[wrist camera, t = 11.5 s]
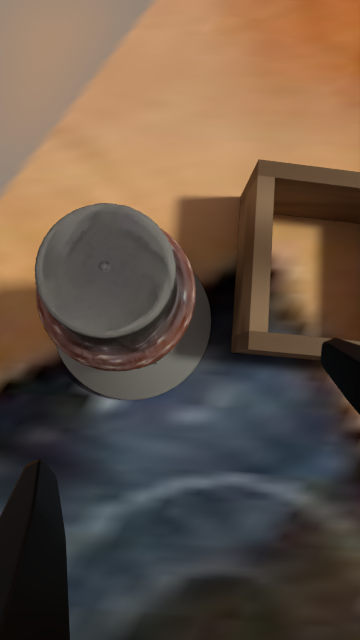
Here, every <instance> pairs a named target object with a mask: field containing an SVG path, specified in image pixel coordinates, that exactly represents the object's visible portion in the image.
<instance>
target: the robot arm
mask: <svg viewBox="0 0 360 640" xmlns="http://www.w3.org/2000/svg"><path fill="white" fill-rule="evenodd" d="M320 361H321V364H322V366H323V368H324V369H325V371H326V372H327V373H328V375H329V376H330V377H331V379H332V380H333V381H334V383H335V384H336V385H337V387H338V388H339V389H340V391H341V392H342V393H343V395H344V396H345V397H346V399H347V400H348V401H349V403H350V404H351V405H352V406H353V407H354V409H355V410H356V411H357V412H358V413H359V414H360V345H358V344H354V343H351V342H348V341H345V340H342V339H339V338H332V339H329V340H327V341H324V342H323V344H322V349H321V358H320ZM0 640H70V631H69V607H68V582H67V557H66V538H65V530H64V523H63V516H62V510H61V504H60V497H59V491H58V484H57V479H56V476H55V474H54V472H53V471H52V470H51V469H50V468H49V466H48V465H47V464H46V463H45V462H44V461H43V460H41V459H39V460H37V461H34V462H32V463H29V464H27V465H26V466H25V467H24V469H23V471H22V473H21V475H20V477H19V479H18V481H17V483H16V486H15V488H14V490H13V492H12V494H11V496H10V498H9V500H8V502H7V504H6V506H5V508H4V510H3V512H2V514H1V516H0Z"/></svg>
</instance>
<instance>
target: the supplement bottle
mask: <svg viewBox="0 0 360 640" xmlns="http://www.w3.org/2000/svg"><path fill="white" fill-rule="evenodd" d="M35 279H36V285H37V287H36V299H37V308H38V312H39V315H40V319H41V322H42V324H43V326H44V328H45V330H46V332H47V333H48V334H49V336H50V338H51V339H52V340H53V342H54V343H55V345H57V346H58V348H60V349H61V350H62V351H63V352H64V353H66V354H67V355H68V356H69V357H71V358H72V359H74V360H76V361H77V362H79V363H81V364H82V365H85V366H89V367H92V368H95V369H98V370H104V371H129V370H133V369H140V368H143V367H147V366H149V365H152V364H157V363H156V362H157V361H159V360H160V359H161V358H163V357H164V356H166V355H167V354H168V353H169V352H170V351H171V350H172V349H173V348H174V347H175V346H176V344H177V343H178V342H179V341H180V339H181V338H182V336H183V335H184V333H185V332H186V330H187V328H188V325H189V324H190V321H191V319H192V315H193V311H194V307H195V294H196V290H195V279H194V274H193V271H192V267H191V264H190V262H189V260H188V258H187V256H186V255H185V253H184V251H183V249H182V248H181V247H180V245H179V244H178V243H177V242H176V241H175V240H174V239H173V238H172V237H171V236H170V235H169V234H168V233H166V232H165V231H164V230H162V229H161V228H159V226H158V225H157V224H156V223H155V222H154V221H153V220H151V219H150V218H149V217H148V216H146V215H144V214H143V213H141V212H139V211H137V210H135V209H133V208H131V207H128V206H124V205H117V204H109V203H99V204H94V205H89V206H85V207H83V208H79V209H77V210H74V211H72V212H71V213H69V214H67V215H66V216H64V217H63V218H62V219H60V220H59V221H58V222H57V223H56V224H54V225H53V227H52V228H51V229H50V230H49V232H48V233H47V235H46V236H45V237H44V239H43V241H42V243H41V245H40V248H39V250H38V254H37V257H36V264H35Z"/></svg>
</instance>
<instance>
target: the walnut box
mask: <svg viewBox="0 0 360 640" xmlns="http://www.w3.org/2000/svg"><path fill="white" fill-rule="evenodd" d="M273 213H274V214H283V215H291V216H300V217H308V218H317V219H325V220H334V221H342V222H351V223H359V224H360V172H353V171H345V170H338V169H330V168H322V167H314V166H306V165H298V164H291V163H283V162H275V161H267V160H258V162H257V164H256V166H255V168H254V170H253V172H252V174H251V176H250V178H249V180H248V182H247V184H246V187H245V189H244V191H243V193H242V195H241V200H240V216H239V232H238V248H237V263H236V279H235V295H234V311H233V327H232V342H231V352H233V353H244V354H255V355H266V356H277V357H287V358H298V359H309V360H320V358H321V349H322V344H323V342H324V341H327V340H329V339H332V338H322V337H312V336H301V335H291V334H281V333H270V332H268V315H269V294H270V272H271V251H272V229H273ZM342 340H343V339H342ZM345 341H348V342H351V343H354V344H358V345H360V341H353V340H345Z"/></svg>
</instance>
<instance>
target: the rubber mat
mask: <svg viewBox="0 0 360 640" xmlns="http://www.w3.org/2000/svg"><path fill="white" fill-rule="evenodd" d="M193 274H194V272H193ZM194 279H195V290H196V294H195V307H194V311H193V315H192V319H191V321H190V324H189V325H188V328H187V330H186V332H185V333H184V335H183V336H182V338H181V339H180V341H179V342H178V343H177V344H176V346H175V347H174V348H173V349H172V350H171V351H170V352H169V353H168V354H167V355H166V356H164V357H163V358H161V359H160V360H159V361H157V362H156V363H157V364H152V365H149V366H147V367H143V368H140V369H133V370H129V371H104V370H98V369H95V368H92V367H89V366H85V365H82V364H81V363H79V362H77V361H76V360H74V359H72V358H71V357H69V356H68V355H67V354H66V353H64V352H63V351H62V350H61V349H60V348H58V346H57V345H56V347H57V350H58V353H59V355H60V357H61V358H62V360H63V362H64V364H65V365H66V367H67V368H68V370H69V371H70V372H71V373H72V374H73V375H74V376H75V377H76V378H77V379H78V380H79V381H80V382H81V383H83V384H84V385H85V386H87V387H88V388H90V389H92V390H93V391H96V392H98V393H100V394H102V395H105V396H109V397H112V398H117V399H124V400H137V399H145V398H149V397H153V396H157V395H159V394H162V393H164V392H167V391H168V390H170V389H172V388H174V387H175V386H177V385H178V384H179V383H181V382H182V381H183V380H184V379H185V378H186V377H187V376H189V375H190V374H191V372H192V371H193V370H194V369H195V367H196V366H197V365H198V363H199V361H200V360H201V358H202V356H203V354H204V352H205V349H206V347H207V344H208V340H209V336H210V329H211V313H210V306H209V302H208V298H207V295H206V293H205V290H204V288H203V286H202V284H201V283H200V281H199V279H198V278H197V276H196V275H195V274H194Z"/></svg>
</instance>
